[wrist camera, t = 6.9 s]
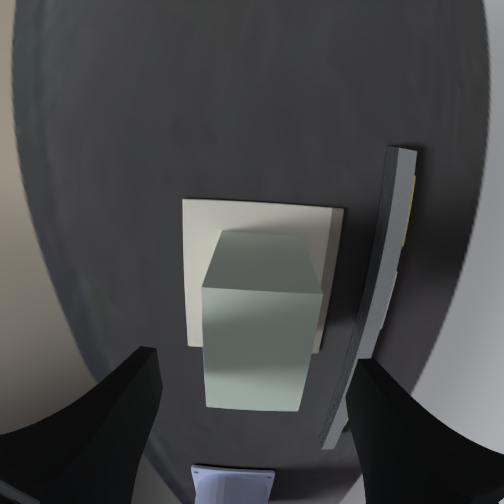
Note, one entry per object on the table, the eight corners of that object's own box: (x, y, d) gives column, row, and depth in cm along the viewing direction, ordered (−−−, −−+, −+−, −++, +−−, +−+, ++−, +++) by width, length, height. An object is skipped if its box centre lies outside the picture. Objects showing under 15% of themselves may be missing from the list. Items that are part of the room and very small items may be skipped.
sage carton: (304, 235, 16) (327, 294, 10) (291, 333, 18) (301, 411, 12) (218, 230, 16) (196, 286, 10) (217, 329, 18) (202, 406, 12)
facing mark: (317, 350, 19) (318, 353, 18) (188, 343, 19) (188, 346, 18) (342, 208, 15) (343, 209, 15) (183, 198, 15) (182, 199, 15)
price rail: (332, 434, 22) (335, 448, 21) (319, 435, 22) (321, 449, 21) (406, 149, 14) (419, 151, 13) (387, 145, 14) (398, 147, 13)
